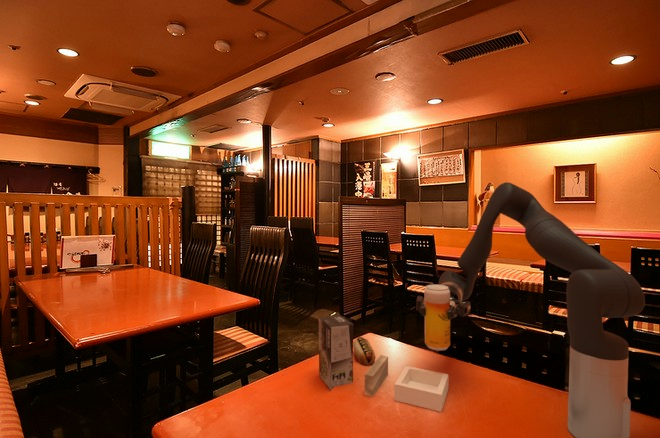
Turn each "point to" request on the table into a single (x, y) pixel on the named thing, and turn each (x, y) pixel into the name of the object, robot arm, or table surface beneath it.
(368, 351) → the hot dog
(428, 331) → the beer can
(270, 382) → the table surface
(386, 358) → the backstop board
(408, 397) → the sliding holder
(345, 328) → the coffee box
